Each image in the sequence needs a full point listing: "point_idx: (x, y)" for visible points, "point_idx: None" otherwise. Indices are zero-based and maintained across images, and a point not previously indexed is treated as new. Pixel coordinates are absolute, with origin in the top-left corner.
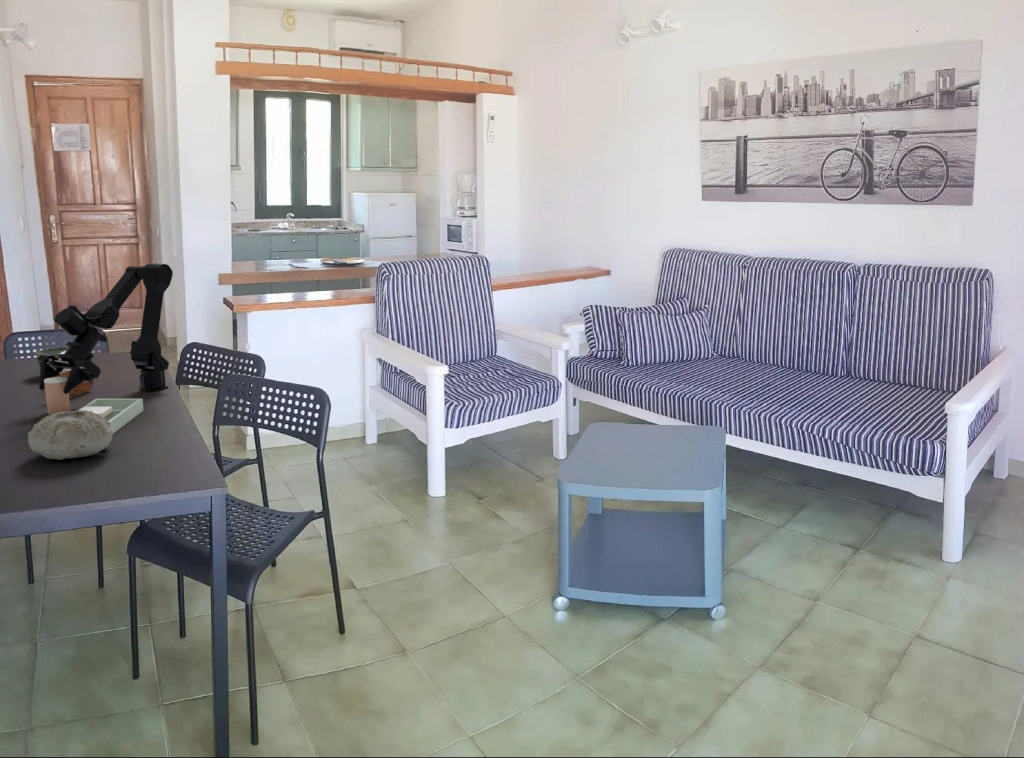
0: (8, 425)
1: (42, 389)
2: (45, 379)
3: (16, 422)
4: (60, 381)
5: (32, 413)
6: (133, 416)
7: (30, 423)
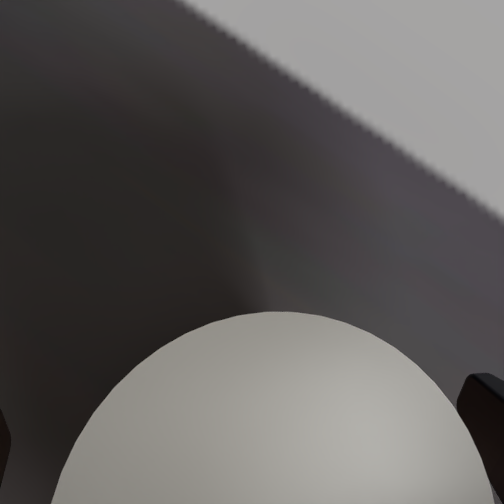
0: (273, 61)
1: (460, 407)
2: (430, 407)
3: (296, 128)
4: (60, 495)
5: (425, 334)
6: None
7: (189, 150)
